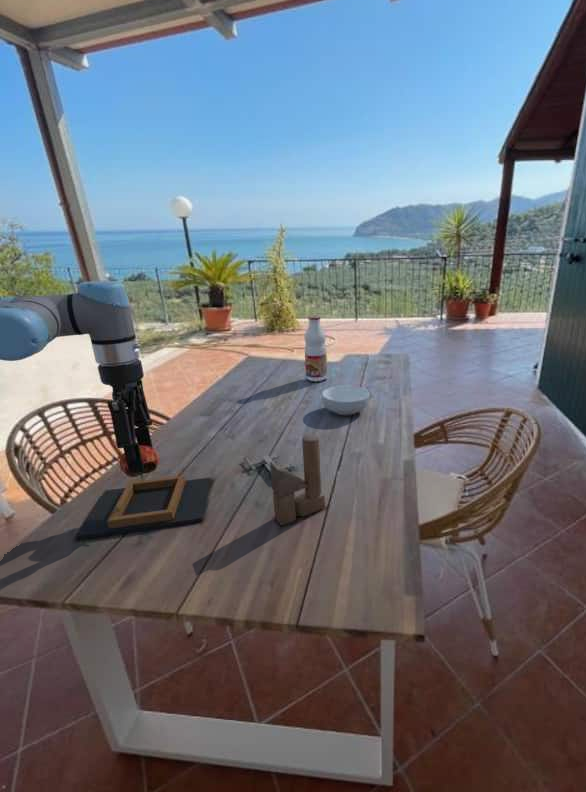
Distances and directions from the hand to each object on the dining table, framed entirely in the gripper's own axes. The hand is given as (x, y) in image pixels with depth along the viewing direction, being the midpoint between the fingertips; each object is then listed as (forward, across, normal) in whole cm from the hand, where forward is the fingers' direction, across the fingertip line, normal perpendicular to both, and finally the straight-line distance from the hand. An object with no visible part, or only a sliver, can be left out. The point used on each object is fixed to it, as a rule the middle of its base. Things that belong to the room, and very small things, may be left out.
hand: (142, 462), depth 85 cm
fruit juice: (+12, +80, -48) cm, 94 cm away
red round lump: (+3, 0, 0) cm, 3 cm away
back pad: (+12, 0, 0) cm, 12 cm away
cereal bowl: (+12, +43, -54) cm, 70 cm away
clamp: (+12, +10, -27) cm, 31 cm away
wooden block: (+12, -10, -33) cm, 36 cm away
